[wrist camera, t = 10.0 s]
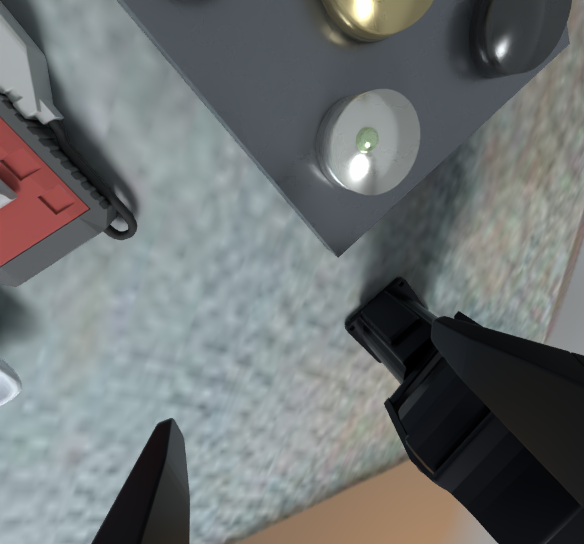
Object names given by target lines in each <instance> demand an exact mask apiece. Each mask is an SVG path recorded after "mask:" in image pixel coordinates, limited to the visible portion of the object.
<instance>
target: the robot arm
mask: <svg viewBox="0 0 584 544" xmlns="http://www.w3.org/2000/svg"><path fill="white" fill-rule="evenodd" d="M400 282H401V283H400ZM399 283H400V284H399ZM351 326H352V327H351ZM350 327H351V328H350ZM345 329H346V330H347V331H348V333H349V334H350V335H351V336H352V337H353V338H354V339H355V340H356V341H357V342H358V343H359V344H360V345H361V346H363V347H364V348H365V349H366V350H367V351H368V352H369V353H370V354H371V355H372V356H373V357H374V358H375V359H376V360H377V361H378V362H379V363H383V364H384V365H385V366H386V367H387V369H388V370H389V371H390V372H391V373H392V375H393V376H394V377H395V378H396V379H397V380H398V382H399V383H400V384H401V385H400V386H399V387H398V389H397V390H396V391H395V392H394V393H393V395H392V396H391V397H390V398H388V399H387V400H386V401H385V403H384V405H385V407H386V409H387V411H388V413H389V416H390V418H391V420H392V422H393V424H394V426H395V429H396V431H397V433H398V435H399V437H400V439H401V441H402V443H403V445H404V448H405V450H406V452H407V454H408V456H409V458H410V460H411V461H412V462H413V463H414V464H415V465H416V466H417V468H418V469H419V470H420V471H421V472H422V473H424V474H425V475H426V476H427V477H428V478H429V479H431V480H432V481H433V482H434V483H436V484H437V485H438V486H440V487H442V488H443V489H445V490H447V491H448V492H450V493H451V494H452V495H453V496H454V497H455V498H456V499H457V500H458V501H459V502H460V503H461V504H462V505H463V506H464V507H466V509H467V510H468V511H469V512H470V513H471V514H472V515H473V516H474V517H475V518H476V519H477V520H478V521H479V523H480V524H481V525H482V526H483V527H484V528H485V529H486V530H487V532H488V533H489V534H490V535H491V536H492V537H493V538H494V539H495V541H496V542H497V543H499V544H584V356H583V355H580V354H576V353H570V352H569V351H566V350H562V349H558V348H555V347H551V346H548V345H544V344H541V343H537V342H534V341H530V340H527V339H523V338H520V337H516V336H513V335H509V334H506V333H502V332H499V331H495V330H492V329H488V328H485V327H482V326H481V325H479V324H478V323H476V322H475V321H473V320H472V319H470V318H469V317H467V316H466V315H464V314H462V313H461V312H459V311H458V312H457V313H456V315H455V316H454V319H453V318H450V317H446V316H442V317H439V318H438V317H436V316H435V315H434V314H432V313H431V312H430V311H428V310H427V309H425V307H424V306H423V304H422V303H421V301H420V300H419V299H418V297H417V296H416V294H415V293H414V291H413V290H412V289H411V287H410V286H409V284H408V283H407V281H406V280H405V279H403V278H402V277H398V278H396V279H395V280H394V281H393V282H392V283H391V284H389V285H388V286H387V287H386V288H385V289H384V290H383V291H382V292H381V293H379V294H378V295H377V296H376V297H375V298H374V299H373V300H372V301H371V302H370V303H368V304H367V305H366V306H365V307H364V308H363V309H362V310H361V311H360V312H358V313H357V314H356V315H355V316H354V317H353V318H352V319H351V320H350V321H348V322H347V324H346V325H345ZM189 532H190V495H189V484H188V473H187V463H186V453H185V443H184V438H183V435H182V433H181V431H180V429H179V427H178V425H177V424H176V422H175V420H174V419H173V418H170V419H167V420H164V421H162V422H159V423H158V424H157V426H156V427H155V429H154V431H153V433H152V434H151V436H150V438H149V440H148V442H147V444H146V445H145V447H144V449H143V451H142V453H141V454H140V456H139V458H138V460H137V462H136V464H135V465H134V467H133V469H132V471H131V473H130V474H129V476H128V478H127V480H126V482H125V483H124V485H123V487H122V489H121V491H120V493H119V494H118V496H117V498H116V500H115V502H114V503H113V505H112V507H111V509H110V511H109V513H108V514H107V516H106V518H105V520H104V522H103V523H102V525H101V527H100V529H99V531H98V532H97V534H96V536H95V538H94V540H93V542H92V543H91V544H189Z"/></svg>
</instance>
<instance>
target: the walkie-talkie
mask: <svg viewBox="0 0 584 544" xmlns="http://www.w3.org/2000/svg"><path fill="white" fill-rule="evenodd" d="M63 118H64V117H63V116H62V115H61V114H60V112H59V111H58V110H57V109H56V108H55V107H54V104H53V98H52V92H51V86H50V80H49V73H48V67H47V62H46V59H45V56H44V54H43V53H42V52H41V50H40V49H39V48H38V47H37V45H36V44H35V43H34V42H33V40H32V39H31V38H30V37H29V35H28V34H27V33H26V32H25V30H24V29H23V28H22V27H21V25H20V24H19V23H18V22H17V21H16V19H15V18H14V17H13V16H12V14H11V13H10V12H9V11H8V9H7V8H6V7H5V6H4V4H3V3H2V2H1V1H0V284H3V285H9V286H14V287H17V286H19V285H21V284H22V283H24V282H26V281H27V280H29V279H30V278H32V277H33V276H35V275H36V274H38V273H39V272H41V271H42V270H44V269H46V268H47V267H49V266H50V265H52V264H53V263H55V262H56V261H58V260H59V259H61V258H63V257H64V256H66V255H67V254H69V253H70V252H72V251H73V250H75V249H76V248H78V247H79V246H81V245H83V244H84V243H86V242H87V241H89V240H90V239H92V238H93V237H95V236H96V235H98V234H99V233H101V232H102V231H104V232H105V233H106V234H107V235H108V236H110V237H112V238H114V239H117V240H124V239H127V238H130V237H132V236H133V235H134V234H135V232H136V230H137V222H136V220H135V218H134V216H133V214H132V213H131V212H130V211H129V210H128V208H127V207H126V206H125V205H124V204H123V203H122V202H121V201H120V200H119V198H118V197H117V196H116V195H115V194H114V193H113V192H112V191H111V189H110V188H109V187H108V186H107V185H106V184H105V183H104V182H103V181H102V179H101V178H100V177H99V176H98V175H97V174H96V173H95V172H94V171H93V169H92V168H91V167H90V166H89V165H88V164H87V163H86V162H85V160H84V159H83V158H82V157H81V156H80V155H79V153H78V152H77V151H76V150H75V149H74V147H73V146H72V144H71V143H70V141H69V138H68V135H67V132H66V130H65V128H64V126H63V125H62V123H61V122H60V120H62V119H63ZM50 127H51V128H52V129H53V131H54V134H55V135H54V134H53V133H52V131H51V130H50V129H49V128H50ZM117 211H118V212H119V213H120V214H121V215H122V216H123V217H124V219H125V220H126V222H127V224H128V230H126V231H123V232H122V231H118V230H116V229H115V228H114V227H112V226H111V225H110V224H111V223H112V221H113V220H114V219H115V218H116V217H117Z"/></svg>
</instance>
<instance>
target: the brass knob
mask: <svg viewBox="0 0 584 544" xmlns="http://www.w3.org/2000/svg"><path fill="white" fill-rule="evenodd" d="M433 1H434V0H322V3H323V5H324V7H325V9H326V11H327V13H328V15H329V16H330V18H331V19H332V20H333V22H334V23H335V24H336V25H337V26H338V27H339V29H341V30H342V31H343V32H344V33H345V34H347V35H349V36H350V37H352V38H354V39H357V40H360V41H365V42H374V41H380V40H383V39H385V38H388V37H390V36H392V35H394V34H396V33H398V32H400V31H402V30H404V29H406V28H407V27H409V26H411V25H412V24H414V23H415V22H416V21H418V20H419V19H420V18H421V17H422V16H423V15H424V14H425V12H426V11H427V10H428V8H429V7H430V6H431V4H432V2H433Z"/></svg>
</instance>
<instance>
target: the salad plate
mask: <svg viewBox="0 0 584 544" xmlns="http://www.w3.org/2000/svg"><path fill="white" fill-rule="evenodd" d="M21 386H22V384H21V380H20V378H19V376H18V375H17V374H16V372H15V371H14V370H13V368H11V367H10V366H9V365H8V364H7V363H6V362H5V361H4V360H3V359H1V358H0V406H1V405H3V404H5V403H6V402H8V401H10V400H11V399H13V398H14V397H15V396H17V395H18V394H19V392H20V391H21Z"/></svg>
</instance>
